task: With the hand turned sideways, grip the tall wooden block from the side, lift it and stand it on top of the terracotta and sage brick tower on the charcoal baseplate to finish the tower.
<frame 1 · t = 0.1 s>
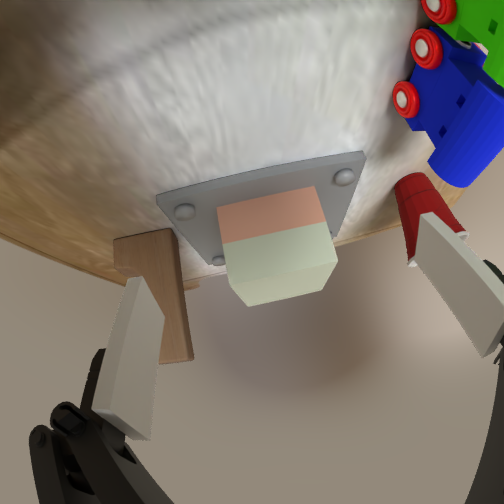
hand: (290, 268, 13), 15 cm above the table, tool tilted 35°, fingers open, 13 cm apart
plastic cup: (410, 180, 40), on the table
wooden block: (145, 237, 42), on the table
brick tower: (267, 216, 43), on the table
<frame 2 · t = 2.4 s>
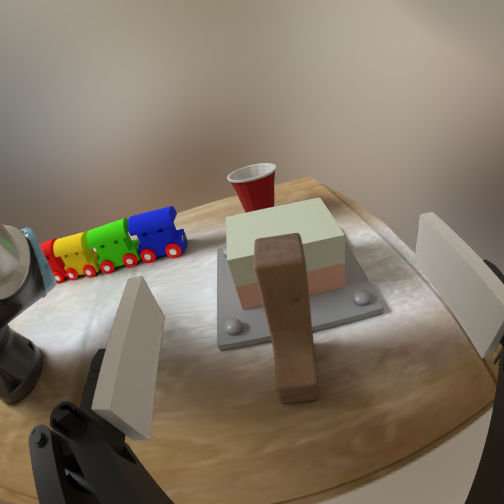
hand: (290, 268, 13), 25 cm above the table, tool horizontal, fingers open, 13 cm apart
plastic cup: (261, 218, 69), on the table
toy train: (105, 268, 66), on the table
wooden block: (297, 373, 35), on the table
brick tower: (288, 279, 50), on the table
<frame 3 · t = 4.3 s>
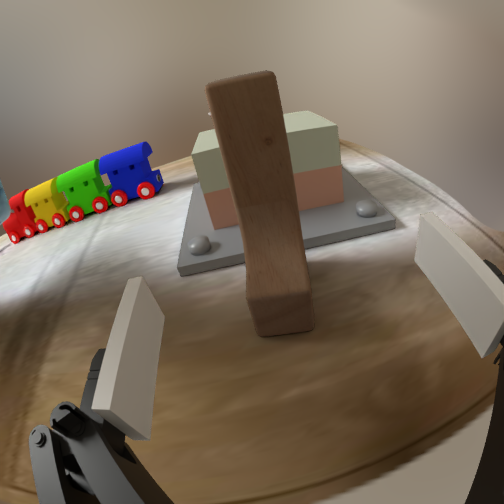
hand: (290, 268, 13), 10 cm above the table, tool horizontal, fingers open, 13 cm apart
toy train: (76, 218, 57), on the table
wooden block: (283, 297, 26), on the table
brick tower: (274, 202, 41), on the table
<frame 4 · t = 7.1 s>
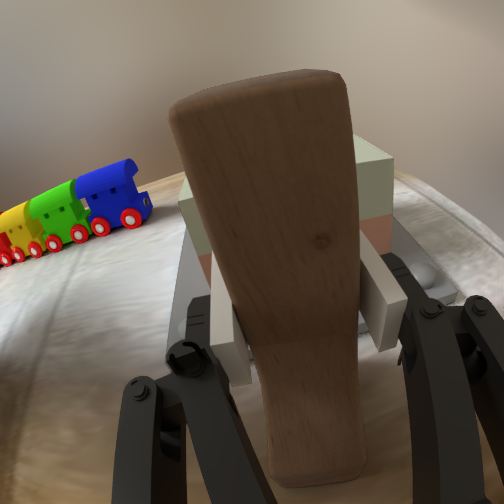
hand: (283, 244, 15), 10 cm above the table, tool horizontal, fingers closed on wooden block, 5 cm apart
toy train: (55, 246, 48), on the table
wooden block: (315, 422, 16), on the table, touching gripper
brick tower: (293, 252, 31), on the table
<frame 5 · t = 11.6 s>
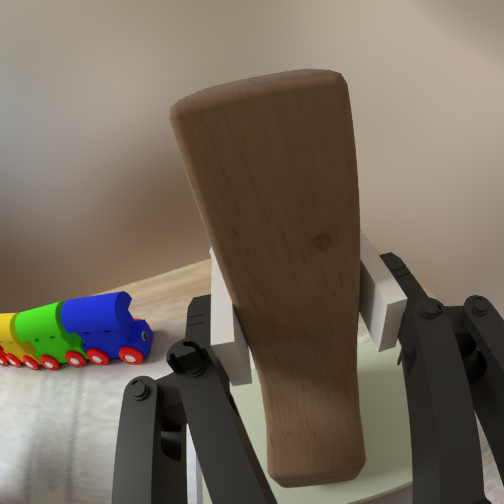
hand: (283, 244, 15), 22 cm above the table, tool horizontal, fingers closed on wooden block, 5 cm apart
toy train: (50, 356, 41), on the table
wooden block: (314, 422, 16), point 12 cm above the table, touching gripper
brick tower: (318, 460, 23), on the table
when the fingers open (22 cm above the table, at t = 11.6 s): wooden block drops 2 cm, resting on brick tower.
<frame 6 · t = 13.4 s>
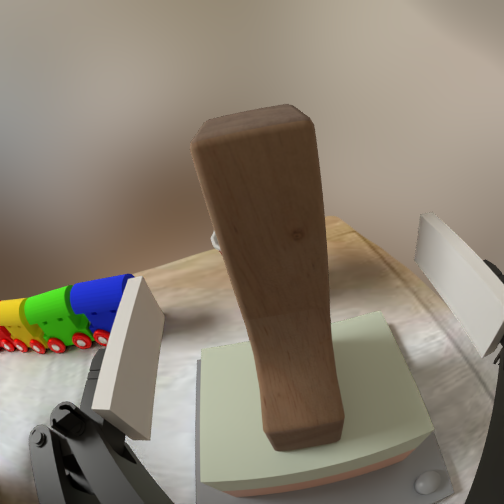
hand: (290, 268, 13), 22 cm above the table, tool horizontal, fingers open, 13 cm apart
toy train: (57, 341, 44), on the table
wooden block: (300, 394, 20), point 11 cm above the table, touching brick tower
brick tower: (311, 435, 26), on the table
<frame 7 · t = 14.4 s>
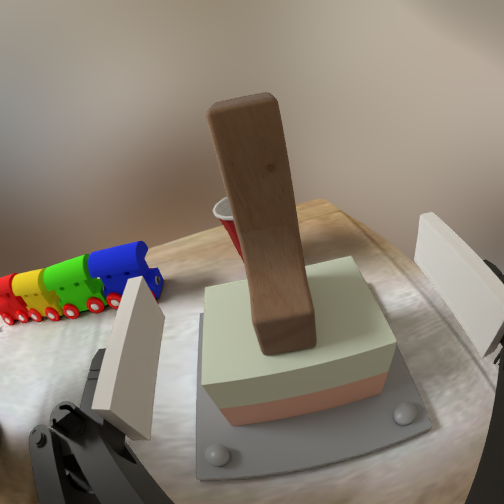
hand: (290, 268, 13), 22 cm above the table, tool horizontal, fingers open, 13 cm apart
plastic cup: (261, 261, 51), on the table
toy train: (70, 309, 51), on the table
wooden block: (284, 314, 26), point 11 cm above the table, touching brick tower
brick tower: (298, 372, 32), on the table
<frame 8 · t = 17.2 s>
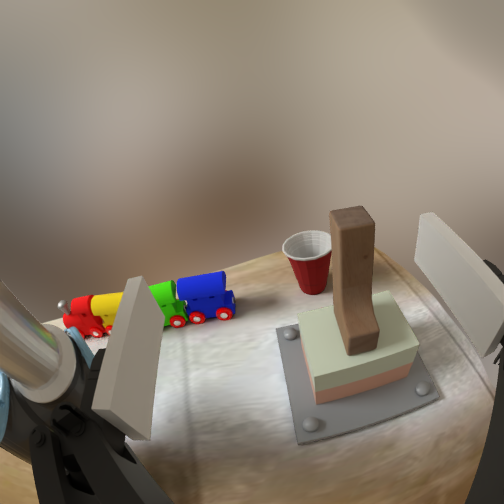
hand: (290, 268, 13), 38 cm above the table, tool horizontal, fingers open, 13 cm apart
plastic cup: (312, 286, 66), on the table
toy train: (147, 324, 67), on the table
wooden block: (354, 330, 41), point 11 cm above the table, touching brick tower
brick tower: (352, 366, 47), on the table
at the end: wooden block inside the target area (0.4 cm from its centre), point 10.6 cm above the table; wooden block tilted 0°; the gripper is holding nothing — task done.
